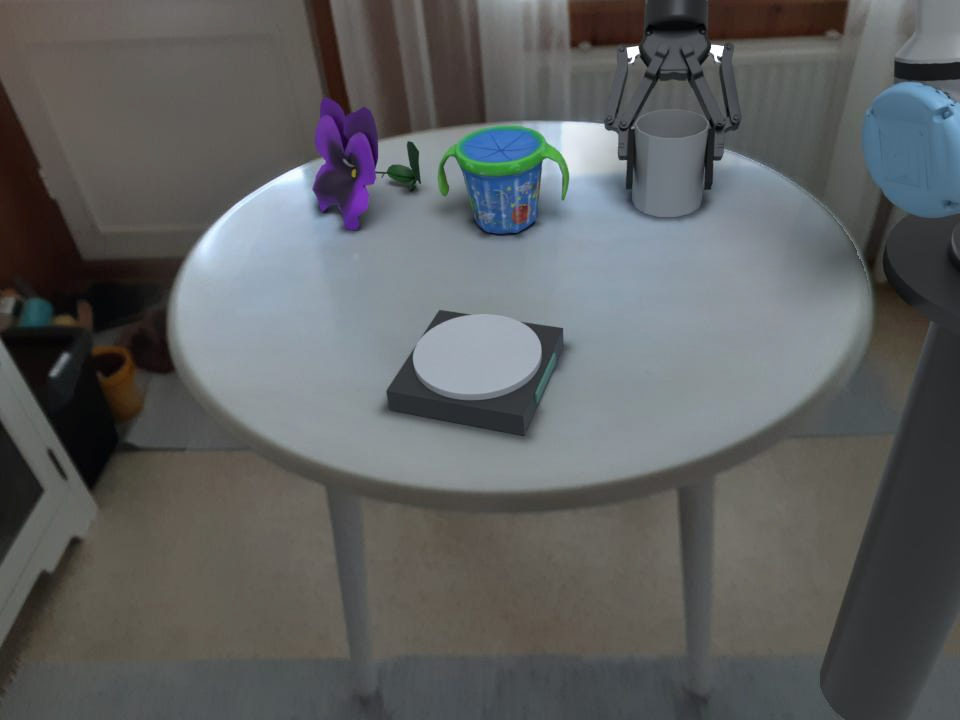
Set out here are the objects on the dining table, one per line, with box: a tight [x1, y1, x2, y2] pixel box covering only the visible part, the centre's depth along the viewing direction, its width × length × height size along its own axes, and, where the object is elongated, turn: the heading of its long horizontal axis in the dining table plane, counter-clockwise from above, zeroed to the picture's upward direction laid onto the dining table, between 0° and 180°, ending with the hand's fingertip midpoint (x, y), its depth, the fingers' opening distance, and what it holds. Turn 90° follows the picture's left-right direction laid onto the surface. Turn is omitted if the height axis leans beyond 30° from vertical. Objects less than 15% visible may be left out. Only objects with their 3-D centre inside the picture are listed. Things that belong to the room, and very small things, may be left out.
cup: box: [631, 108, 710, 218], centre depth 101 cm, size 8×8×10 cm
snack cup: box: [437, 125, 570, 235], centre depth 100 cm, size 16×10×10 cm
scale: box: [385, 309, 565, 436], centre depth 79 cm, size 13×13×3 cm
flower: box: [311, 96, 422, 231], centre depth 107 cm, size 15×15×14 cm
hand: (668, 186), depth 100 cm, fingers closed on cup, 8 cm apart
